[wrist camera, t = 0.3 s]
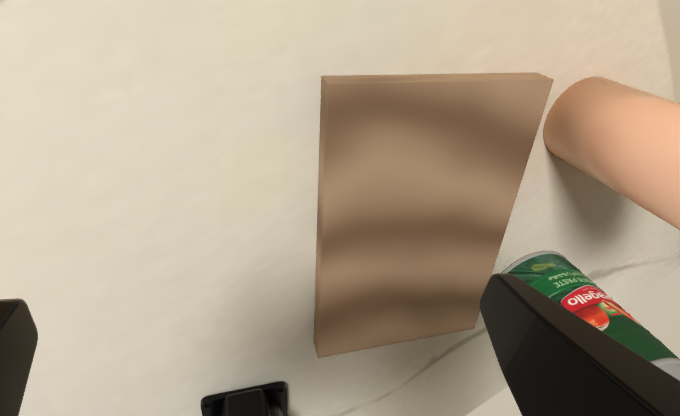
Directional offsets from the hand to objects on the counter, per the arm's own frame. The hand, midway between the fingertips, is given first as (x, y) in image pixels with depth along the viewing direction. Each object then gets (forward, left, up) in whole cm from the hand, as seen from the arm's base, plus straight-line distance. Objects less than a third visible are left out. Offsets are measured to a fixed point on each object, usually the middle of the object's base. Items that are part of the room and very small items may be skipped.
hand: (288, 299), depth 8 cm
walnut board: (-10, -11, -15) cm, 21 cm away
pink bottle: (-3, -22, -15) cm, 26 cm away
